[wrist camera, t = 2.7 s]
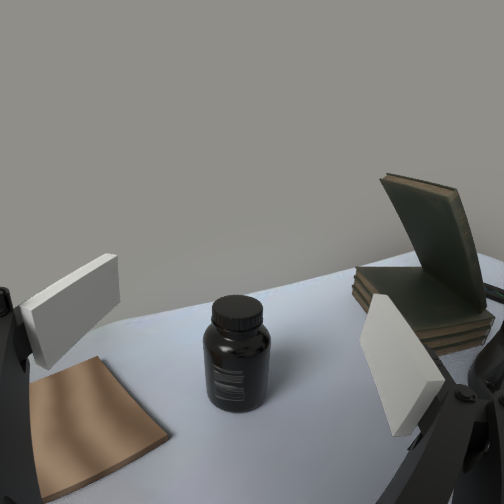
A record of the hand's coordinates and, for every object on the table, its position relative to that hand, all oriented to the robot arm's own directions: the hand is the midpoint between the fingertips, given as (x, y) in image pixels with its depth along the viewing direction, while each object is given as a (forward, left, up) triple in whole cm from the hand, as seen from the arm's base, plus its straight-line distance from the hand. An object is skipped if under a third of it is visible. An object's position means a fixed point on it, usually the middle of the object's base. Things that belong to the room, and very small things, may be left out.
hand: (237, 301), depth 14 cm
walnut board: (+10, -15, -19) cm, 26 cm away
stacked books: (-41, +7, -19) cm, 46 cm away
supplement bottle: (-8, -7, -19) cm, 22 cm away
